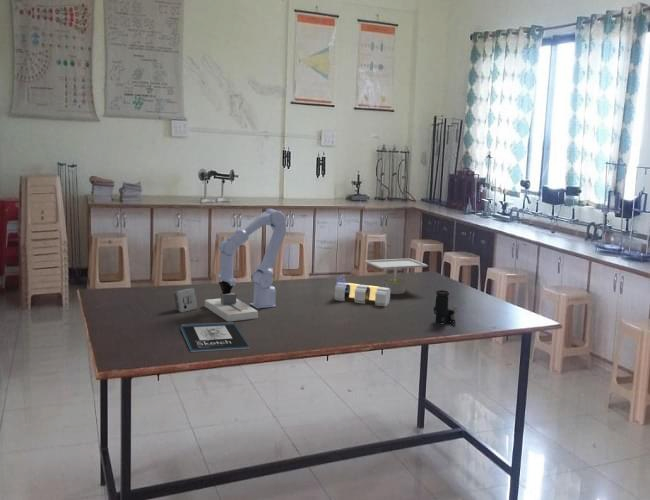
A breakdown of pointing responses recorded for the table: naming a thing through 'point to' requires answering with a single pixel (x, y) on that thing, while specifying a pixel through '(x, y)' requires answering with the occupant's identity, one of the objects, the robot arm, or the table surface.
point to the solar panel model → (395, 271)
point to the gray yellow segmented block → (361, 292)
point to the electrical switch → (185, 300)
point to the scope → (443, 308)
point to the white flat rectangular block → (231, 310)
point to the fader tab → (228, 298)
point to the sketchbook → (213, 337)
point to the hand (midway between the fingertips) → (226, 298)
